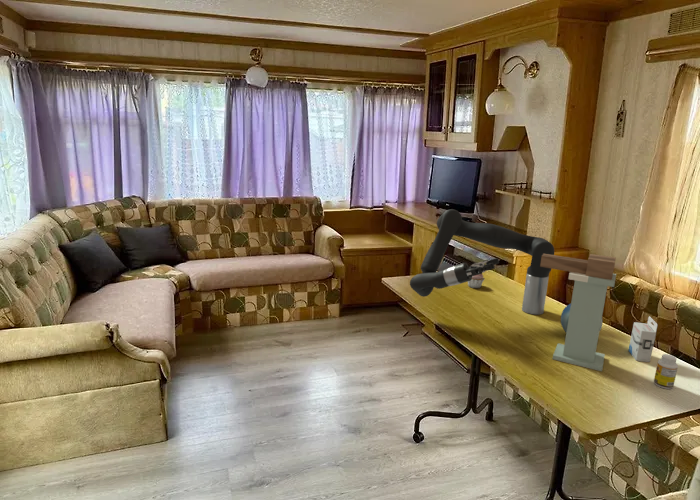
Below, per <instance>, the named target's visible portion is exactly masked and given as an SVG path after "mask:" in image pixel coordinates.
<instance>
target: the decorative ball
mask: <svg viewBox="0 0 700 500" xmlns="http://www.w3.org/2000/svg"><path fill="white" fill-rule="evenodd" d="M570 308H571V303H569V304H567V305H566V306H565V307H564V308H563V310H562V312H561V315H560V325H561V327H562V329H563V331H564V332H565V333H566V332H567V326H568V320H569V314H570ZM602 327H603V319H602V320H601V325H600V331H601V330H602Z"/></svg>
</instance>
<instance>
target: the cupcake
mask: <svg viewBox="0 0 700 500" xmlns="http://www.w3.org/2000/svg"><path fill="white" fill-rule="evenodd" d="M485 279H486V278H485V277H484V274H483V273H482V274H478V275H475V276H472V280H471V281H468V282H467V286H468V287H469V288H472V289H480V288H481V287H482V284H483V282H484V281H485Z"/></svg>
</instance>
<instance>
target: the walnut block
mask: <svg viewBox="0 0 700 500" xmlns="http://www.w3.org/2000/svg"><path fill="white" fill-rule="evenodd" d="M616 260H617V257H614V256H608V255H601V254H594V253H589V256H588V258H587V259H581V258H575V257H569V256H561V255H555V254H554V255H550V254H543V255H542V257H541V264H540V267H545V268H551V270H558V271H564V272H569V273H570V272H576V273H582V274H586V276H591V277H597V278H603V279H609V280H612V277H613V274H614V270H615V264H616Z"/></svg>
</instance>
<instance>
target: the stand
mask: <svg viewBox="0 0 700 500" xmlns="http://www.w3.org/2000/svg"><path fill="white" fill-rule="evenodd" d="M616 278H617V273H613V277H612V280H609V279H603V278H597V277H591V276H586V274H582V273H576V272H570V271H569V273H568V280H571V281H574V285H573V289H572V296H571V303H570V304H571V308H570V314H569V320H568V326H567V332H565V334H566V335H565V339H564V343H560V342H559V343H557V345H556V347H555V350H554V351H553V354H552V360H555V361H558V362H562V363H563V362H564V363H567V364H571V365H573V366H574V365H575V366H579V367H583V368H587V369H590V370H594V371H595V370H596V371H598V372H603V368H604V361H605V353H601V352H597V346H598V342H599V341H598V340H599V335H600V332H601V330H600V325H601V320H602V321H603V313H604V307H605V302H606V296H607V290H608V287H611V288H615V284H616V283H615V282H616Z"/></svg>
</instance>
